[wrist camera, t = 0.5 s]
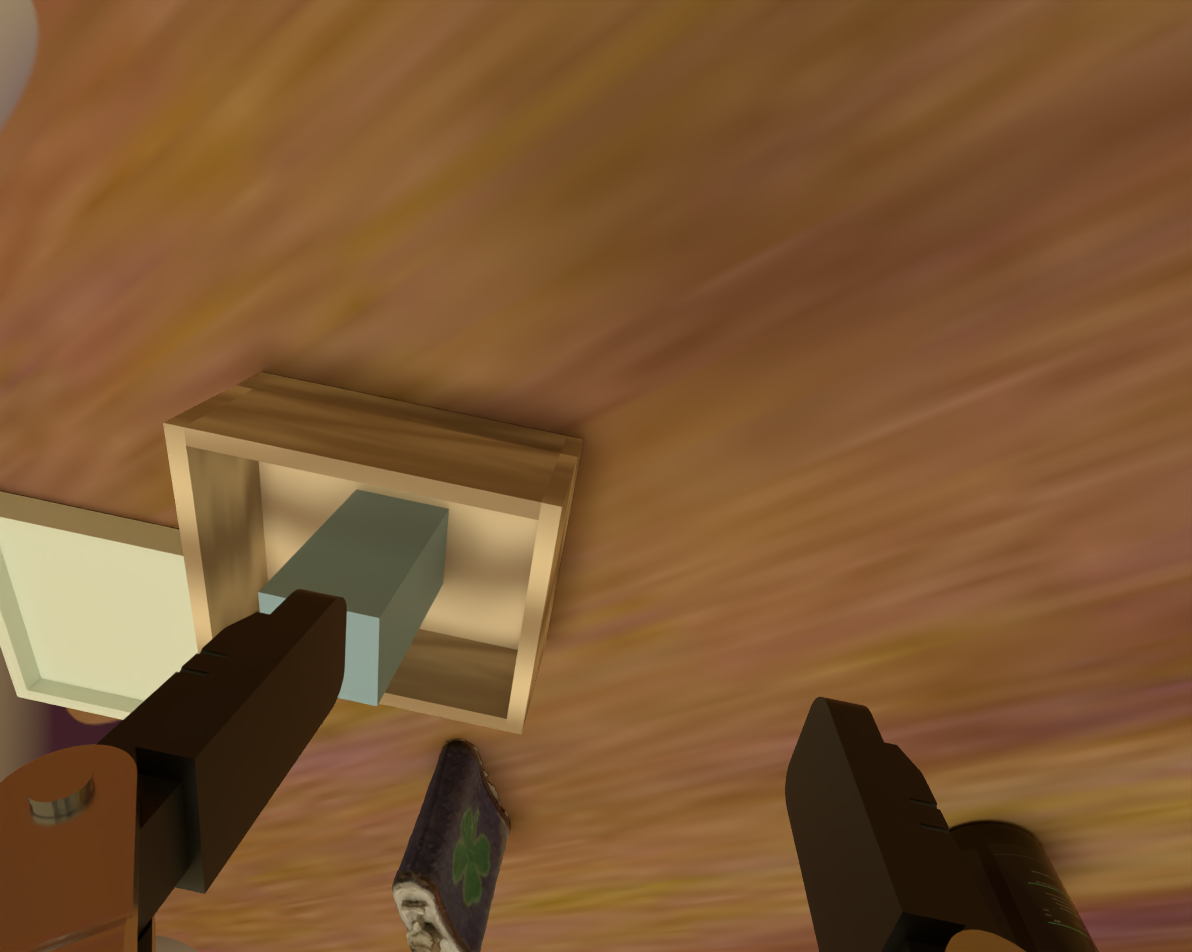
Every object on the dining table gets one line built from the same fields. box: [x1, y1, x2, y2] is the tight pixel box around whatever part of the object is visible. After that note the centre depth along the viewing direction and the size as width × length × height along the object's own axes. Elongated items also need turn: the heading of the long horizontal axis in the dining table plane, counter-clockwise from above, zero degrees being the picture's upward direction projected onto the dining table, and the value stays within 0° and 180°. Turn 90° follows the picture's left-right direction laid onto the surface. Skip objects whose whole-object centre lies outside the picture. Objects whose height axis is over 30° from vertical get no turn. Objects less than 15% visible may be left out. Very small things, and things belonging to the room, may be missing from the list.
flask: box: [392, 738, 510, 952], centre depth 37 cm, size 9×3×11 cm, turn 14°
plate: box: [0, 491, 198, 720], centre depth 37 cm, size 14×14×2 cm
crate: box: [163, 372, 584, 735], centre depth 30 cm, size 13×16×6 cm
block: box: [258, 489, 449, 706], centre depth 27 cm, size 4×4×8 cm
